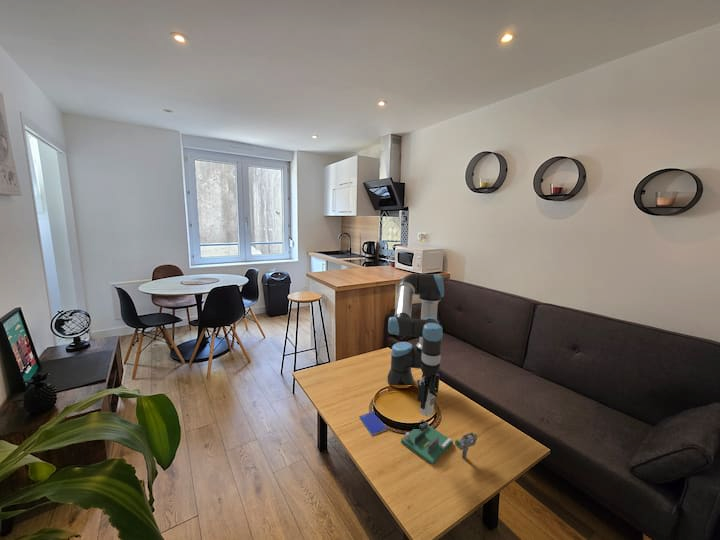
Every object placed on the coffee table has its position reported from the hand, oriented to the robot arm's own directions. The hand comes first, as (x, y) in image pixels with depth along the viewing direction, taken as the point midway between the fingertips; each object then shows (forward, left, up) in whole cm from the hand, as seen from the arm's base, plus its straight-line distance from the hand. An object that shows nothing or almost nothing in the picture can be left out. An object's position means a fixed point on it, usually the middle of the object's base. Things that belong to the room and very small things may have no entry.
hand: (426, 411), depth 127 cm
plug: (0, 0, 0) cm, 0 cm away
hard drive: (+7, -24, -18) cm, 31 cm away
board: (-2, 0, -17) cm, 18 cm away
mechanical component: (-7, +15, -18) cm, 24 cm away
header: (0, +1, -16) cm, 16 cm away
